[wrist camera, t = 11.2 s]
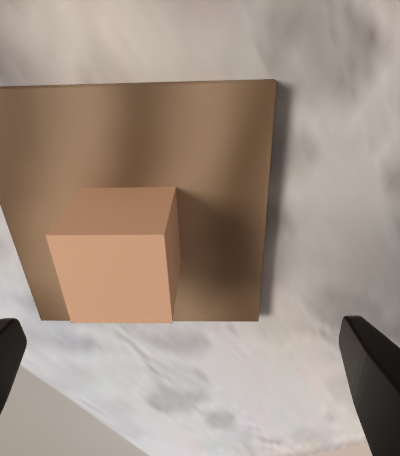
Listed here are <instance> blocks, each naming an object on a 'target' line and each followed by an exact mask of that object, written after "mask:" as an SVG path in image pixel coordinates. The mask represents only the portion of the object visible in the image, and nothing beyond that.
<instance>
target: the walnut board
mask: <svg viewBox="0 0 400 456" xmlns="http://www.w3.org/2000/svg"><path fill="white" fill-rule="evenodd" d="M275 95H276V81H275V80H274V79H264V80H227V81H190V82H153V83H116V84H79V85H41V86H4V87H0V205H1V208H2V211H3V214H4V216H5V219H6V222H7V225H8V228H9V231H10V233H11V236H12V239H13V242H14V245H15V248H16V250H17V253H18V256H19V259H20V262H21V265H22V267H23V270H24V273H25V276H26V279H27V282H28V284H29V287H30V290H31V293H32V296H33V298H34V301H35V304H36V307H37V310H38V313H39V315H40V318H41V320H56V321H71V320H70V317H69V314H68V310H67V307H66V303H65V300H64V297H63V293H62V290H61V286H60V283H59V280H58V276H57V273H56V269H55V266H54V263H53V259H52V256H51V252H50V249H49V246H48V242H47V239H46V234H47V233H48V232H49V231H50V229H51V228H52V227H53V226H54V224H55V223H56V222H57V221H58V220H59V218H60V217H61V216H62V215H63V214H64V212H65V211H66V210H67V209H68V208H69V206H70V205H71V204H72V203H73V201H74V200H75V199H76V198H77V197H78V195H79V194H80V193H81V192H82V191H83V189H84V188H131V187H176V197H177V212H178V227H179V241H180V256H181V266H180V273H179V280H178V287H177V294H176V301H175V308H174V315H173V321H258V319H259V306H260V293H261V280H262V267H263V254H264V240H265V227H266V214H267V201H268V188H269V174H270V161H271V148H272V135H273V122H274V108H275Z"/></svg>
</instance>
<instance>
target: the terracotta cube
mask: <svg viewBox="0 0 400 456" xmlns="http://www.w3.org/2000/svg"><path fill="white" fill-rule="evenodd" d="M46 239H47V242H48V246H49V249H50V252H51V256H52V259H53V263H54V266H55V269H56V273H57V276H58V280H59V283H60V286H61V290H62V293H63V297H64V300H65V303H66V307H67V310H68V314H69V317H70V320H71V322H75V323H172V322H173V315H174V308H175V301H176V294H177V287H178V280H179V273H180V266H181V256H180V241H179V227H178V212H177V197H176V187H131V188H84V189H83V191H82V192H81V193H80V194H79V195H78V197H77V198H76V199H75V200H74V201H73V203H72V204H71V205H70V206H69V208H68V209H67V210H66V211H65V212H64V214H63V215H62V216H61V217H60V218H59V220H58V221H57V222H56V223H55V224H54V226H53V227H52V228H51V229H50V231H49V232H48V233H47V234H46Z"/></svg>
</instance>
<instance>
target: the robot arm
mask: <svg viewBox="0 0 400 456" xmlns="http://www.w3.org/2000/svg"><path fill="white" fill-rule="evenodd" d="M26 345H27V340H26V336H25V334H24V332H23V329H22V327H21V325H20V322H19V321H18V320H17V319H15V318H4V319H0V414H1V412H2V410H3V408H4V405H5V403H6V401H7V398H8V396H9V393H10V391H11V388H12V385H13V382H14V380H15V377H16V374H17V371H18V368H19V366H20V363H21V360H22V357H23V354H24V352H25V349H26ZM339 347H340V351H341V355H342V359H343V363H344V367H345V371H346V375H347V379H348V383H349V387H350V391H351V395H352V399H353V403H354V406H355V409H356V412H357V414H358V417H359V420H360V423H361V425H362V428H363V431H364V433H365V436H366V439H367V442H368V444H369V447H370V450H371V452H372V455H373V456H400V348H399V347H398V346H397V345H395V344H394V343H393V342H392V341H391V340H389V339H388V338H387V337H386V336H385V335H383V334H382V333H381V332H380V331H378V330H377V329H376V328H375V327H374V326H372V325H371V324H370V323H369V322H367V321H366V320H365V319H364V318H363V317H361V316H345V317H344V318H343V320H342V325H341V330H340V335H339Z"/></svg>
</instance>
